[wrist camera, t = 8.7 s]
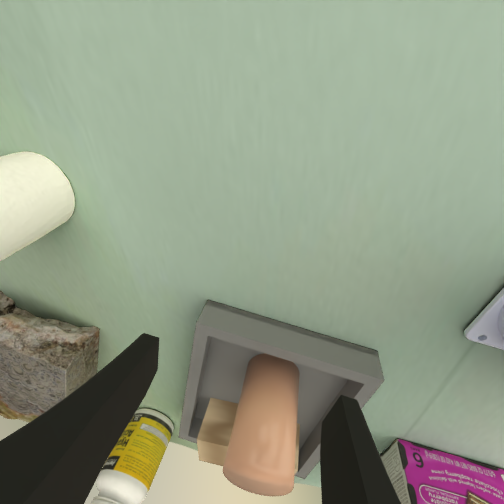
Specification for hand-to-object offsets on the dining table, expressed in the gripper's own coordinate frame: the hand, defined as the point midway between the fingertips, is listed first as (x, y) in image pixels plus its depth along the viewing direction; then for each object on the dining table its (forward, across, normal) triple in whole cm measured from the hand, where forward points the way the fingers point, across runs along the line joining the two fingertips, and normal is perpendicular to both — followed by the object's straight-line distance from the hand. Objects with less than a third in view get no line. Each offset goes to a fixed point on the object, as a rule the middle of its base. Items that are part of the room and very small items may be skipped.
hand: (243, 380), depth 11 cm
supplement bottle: (+10, +8, +28) cm, 31 cm away
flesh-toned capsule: (+9, -3, +11) cm, 15 cm away
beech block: (+9, 0, +20) cm, 22 cm away
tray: (+10, -3, +15) cm, 18 cm away
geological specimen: (+10, +20, +20) cm, 30 cm away
